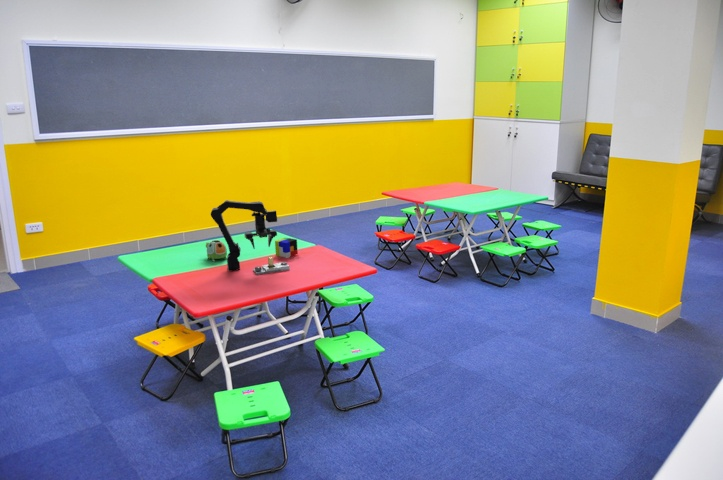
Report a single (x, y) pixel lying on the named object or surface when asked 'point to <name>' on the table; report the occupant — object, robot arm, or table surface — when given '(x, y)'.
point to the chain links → (276, 268)
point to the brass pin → (270, 262)
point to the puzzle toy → (286, 247)
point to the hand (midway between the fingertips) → (261, 247)
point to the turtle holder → (216, 250)
